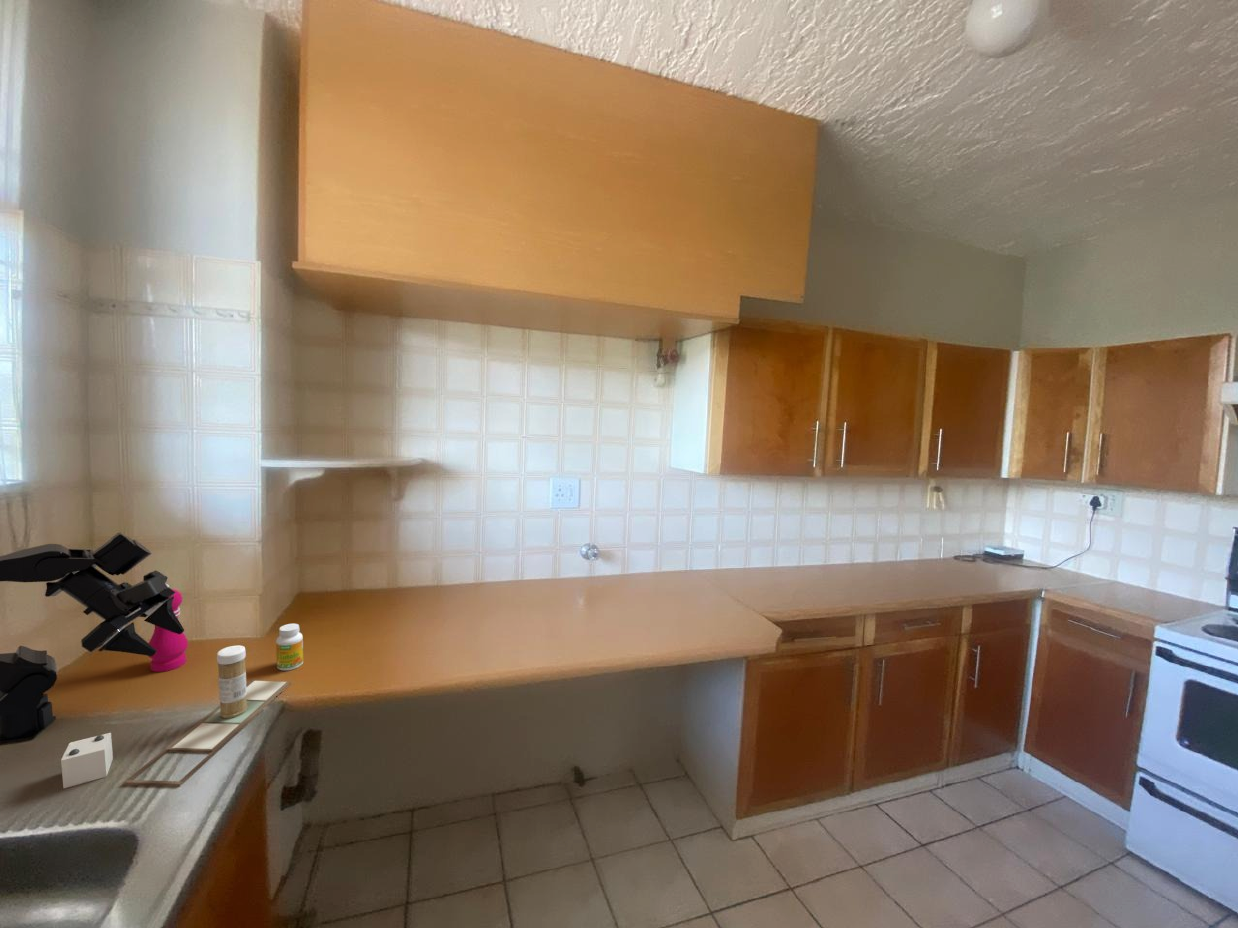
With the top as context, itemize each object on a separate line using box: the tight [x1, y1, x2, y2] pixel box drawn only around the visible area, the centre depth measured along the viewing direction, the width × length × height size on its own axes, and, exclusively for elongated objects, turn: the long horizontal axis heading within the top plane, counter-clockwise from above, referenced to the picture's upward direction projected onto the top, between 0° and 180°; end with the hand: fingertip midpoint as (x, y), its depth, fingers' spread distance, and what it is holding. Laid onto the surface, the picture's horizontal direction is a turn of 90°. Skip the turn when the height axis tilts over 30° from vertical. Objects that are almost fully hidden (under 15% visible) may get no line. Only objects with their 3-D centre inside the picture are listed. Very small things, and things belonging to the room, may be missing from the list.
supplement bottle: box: [275, 623, 304, 672], centre depth 121 cm, size 5×5×10 cm
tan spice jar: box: [216, 645, 247, 718], centre depth 102 cm, size 5×5×13 cm
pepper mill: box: [148, 583, 189, 673], centre depth 118 cm, size 7×7×20 cm
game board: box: [123, 680, 293, 787], centre depth 99 cm, size 9×30×1 cm, turn 2°
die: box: [60, 732, 114, 789], centre depth 85 cm, size 5×5×6 cm
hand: (169, 642), depth 103 cm, fingers open, 9 cm apart
